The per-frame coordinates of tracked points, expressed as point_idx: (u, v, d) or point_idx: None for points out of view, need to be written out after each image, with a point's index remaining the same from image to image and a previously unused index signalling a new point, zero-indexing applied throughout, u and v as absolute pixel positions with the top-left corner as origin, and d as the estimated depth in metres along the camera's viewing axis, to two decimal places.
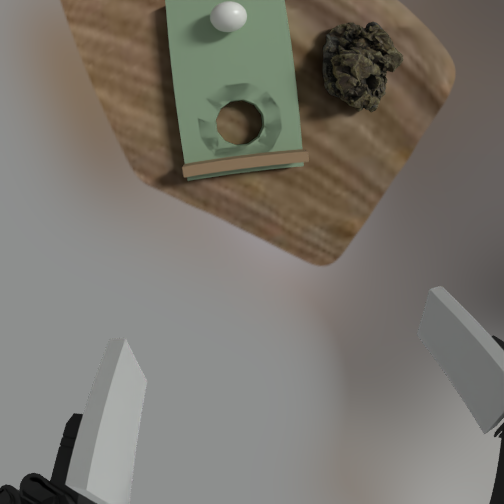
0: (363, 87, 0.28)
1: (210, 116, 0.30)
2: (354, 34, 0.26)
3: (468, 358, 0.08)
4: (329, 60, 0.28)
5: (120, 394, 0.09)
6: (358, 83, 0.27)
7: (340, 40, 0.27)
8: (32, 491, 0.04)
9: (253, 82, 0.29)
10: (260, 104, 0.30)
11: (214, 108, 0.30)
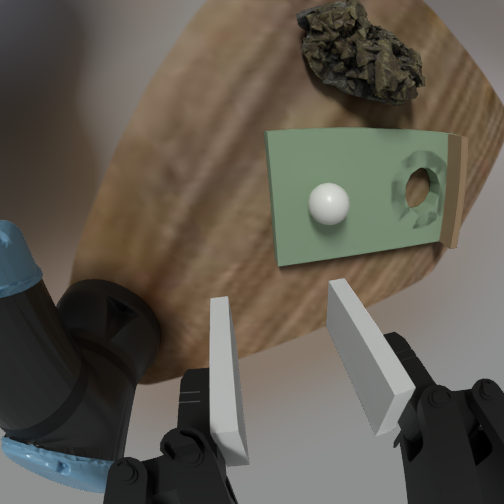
0: (405, 66, 0.20)
1: (413, 217, 0.30)
2: (324, 49, 0.22)
3: (356, 352, 0.10)
4: (365, 91, 0.23)
5: (233, 345, 0.11)
6: (408, 75, 0.20)
7: (337, 70, 0.22)
8: (180, 446, 0.06)
9: (392, 174, 0.28)
10: (411, 169, 0.28)
11: (408, 213, 0.30)
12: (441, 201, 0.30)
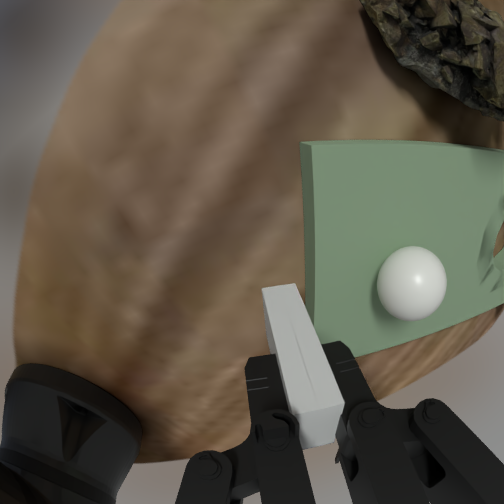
0: None
1: (495, 277, 0.18)
2: (404, 5, 0.09)
3: None
4: (464, 89, 0.11)
5: None
6: None
7: (427, 45, 0.10)
8: (272, 429, 0.06)
9: (486, 221, 0.15)
10: None
11: (491, 273, 0.17)
12: None
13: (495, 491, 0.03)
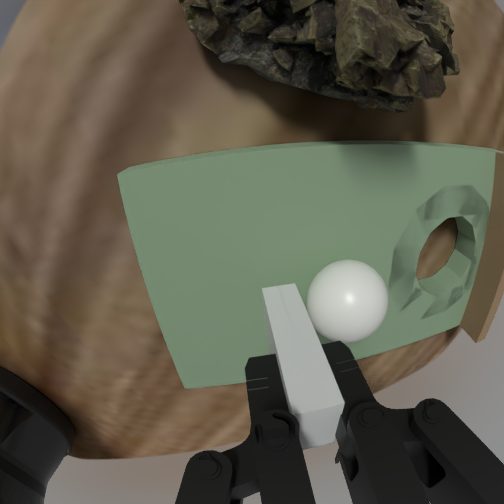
0: (417, 23, 0.07)
1: (425, 302, 0.17)
2: None
3: None
4: (317, 76, 0.10)
5: None
6: (425, 40, 0.07)
7: (248, 29, 0.09)
8: (272, 429, 0.06)
9: (395, 236, 0.14)
10: (433, 222, 0.14)
11: (417, 298, 0.17)
12: (473, 268, 0.16)
13: (495, 491, 0.03)
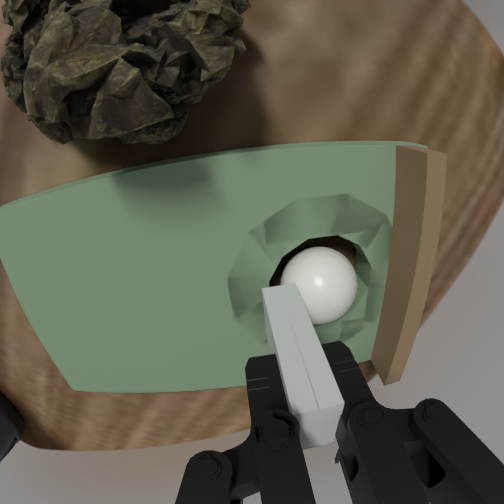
0: (156, 28, 0.07)
1: None
2: (22, 53, 0.07)
3: None
4: None
5: None
6: (135, 53, 0.06)
7: None
8: (272, 429, 0.06)
9: (225, 264, 0.14)
10: (283, 246, 0.14)
11: None
12: (375, 298, 0.16)
13: (495, 491, 0.03)
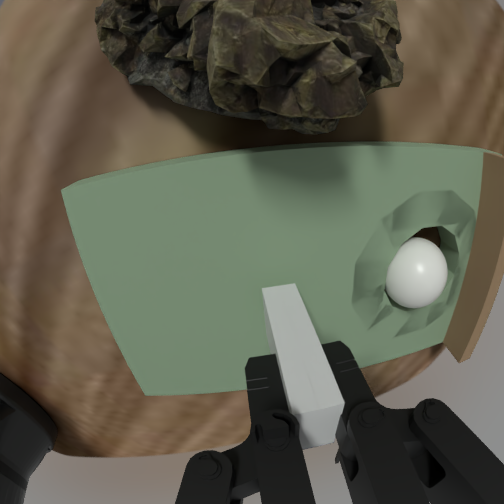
0: (341, 23, 0.07)
1: (399, 319, 0.16)
2: (132, 6, 0.08)
3: None
4: None
5: None
6: (339, 42, 0.06)
7: (149, 49, 0.08)
8: (272, 429, 0.06)
9: (356, 249, 0.13)
10: (404, 233, 0.13)
11: (388, 316, 0.16)
12: (457, 283, 0.15)
13: (495, 491, 0.03)
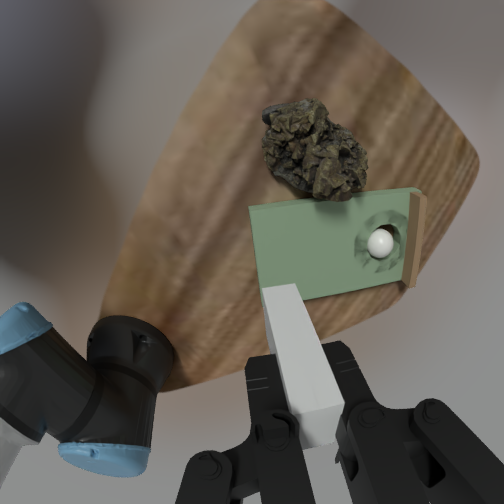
0: (348, 169, 0.30)
1: (375, 264, 0.39)
2: (279, 146, 0.31)
3: None
4: (307, 186, 0.33)
5: None
6: (347, 180, 0.30)
7: (286, 167, 0.32)
8: (272, 429, 0.06)
9: (355, 233, 0.37)
10: (373, 227, 0.36)
11: (370, 262, 0.39)
12: (402, 248, 0.38)
13: (495, 491, 0.03)
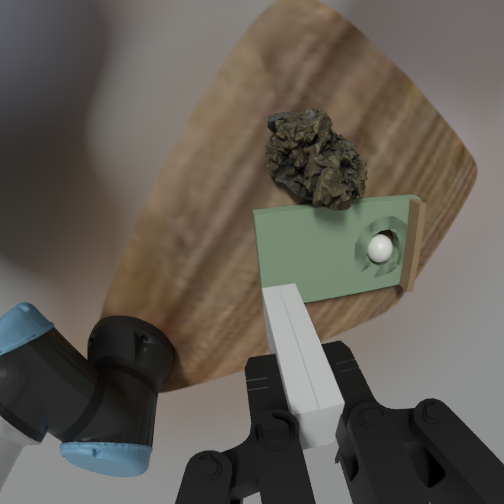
0: (348, 179, 0.31)
1: (374, 268, 0.40)
2: (282, 153, 0.32)
3: None
4: (307, 193, 0.34)
5: None
6: (346, 190, 0.31)
7: (288, 174, 0.33)
8: (272, 429, 0.06)
9: (355, 238, 0.38)
10: (373, 232, 0.38)
11: (369, 266, 0.40)
12: (400, 254, 0.40)
13: (495, 491, 0.03)
